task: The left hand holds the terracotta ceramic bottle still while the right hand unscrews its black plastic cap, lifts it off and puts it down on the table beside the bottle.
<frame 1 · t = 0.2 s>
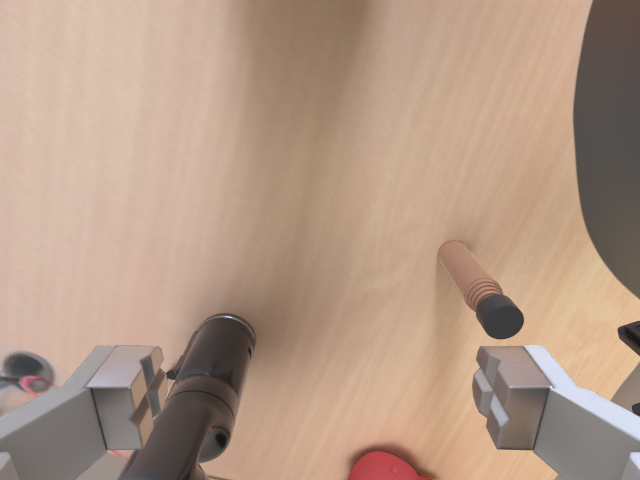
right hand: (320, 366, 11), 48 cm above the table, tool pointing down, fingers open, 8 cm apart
cap: (502, 321, 45), point 18 cm above the table, screwed on, not yet turned
bottle: (452, 254, 62), on the table
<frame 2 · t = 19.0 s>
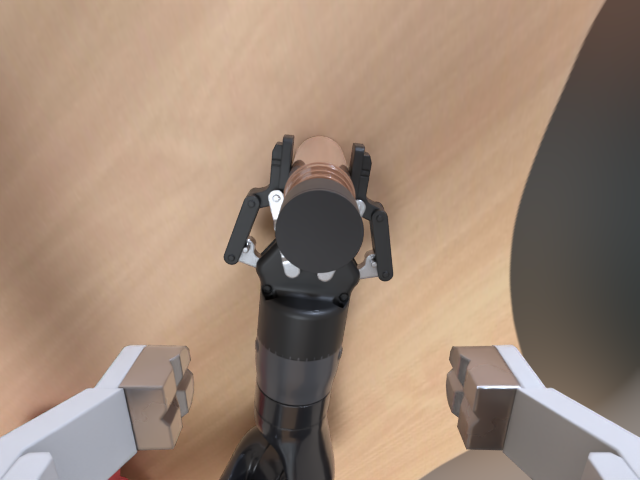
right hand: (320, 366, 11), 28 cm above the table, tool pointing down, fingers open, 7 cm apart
left hand: (324, 141, 30), fingers closed on bottle, 4 cm apart
cap: (319, 231, 20), point 18 cm above the table, screwed on, not yet turned
bottle: (319, 161, 37), on the table, touching left hand
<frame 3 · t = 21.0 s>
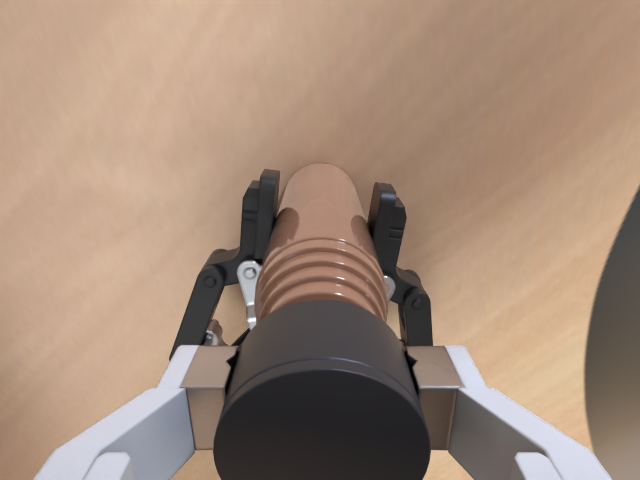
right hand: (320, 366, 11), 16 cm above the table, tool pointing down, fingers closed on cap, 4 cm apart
cap: (321, 445, 8), point 18 cm above the table, screwed on, not yet turned, touching right hand
bottle: (320, 199, 25), on the table, touching left hand
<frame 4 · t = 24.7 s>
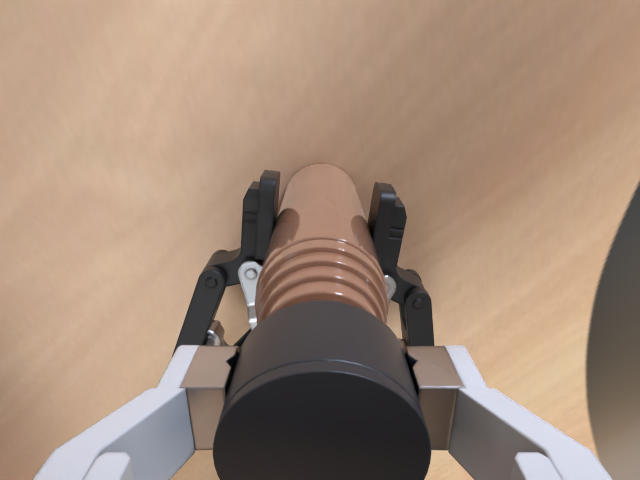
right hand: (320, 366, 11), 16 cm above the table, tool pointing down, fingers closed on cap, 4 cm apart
cap: (321, 447, 8), point 18 cm above the table, turned 91° so far, risen 0.1 cm, still on its thread, touching right hand
bottle: (321, 199, 25), on the table, touching left hand
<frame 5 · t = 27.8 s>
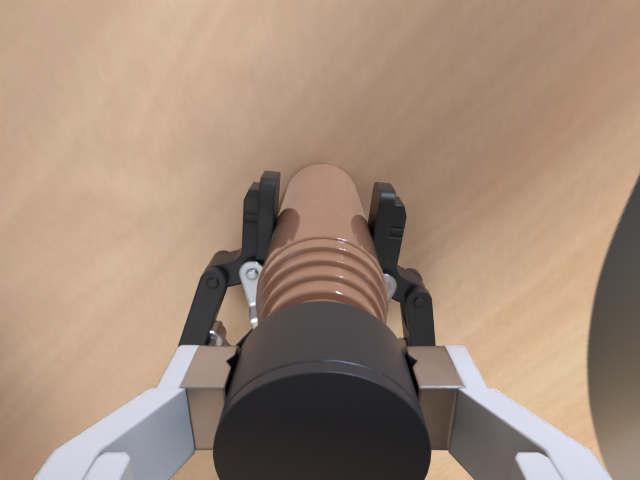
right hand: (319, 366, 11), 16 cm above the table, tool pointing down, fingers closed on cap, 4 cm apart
cap: (321, 447, 8), point 18 cm above the table, turned 181° so far, risen 0.2 cm, still on its thread, touching right hand
bottle: (321, 199, 25), on the table, touching left hand
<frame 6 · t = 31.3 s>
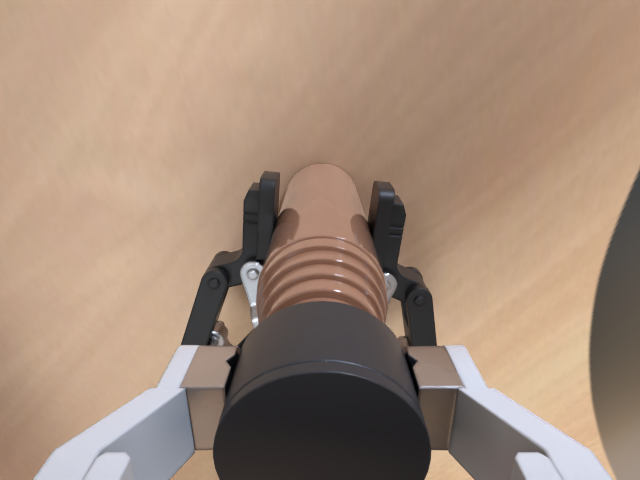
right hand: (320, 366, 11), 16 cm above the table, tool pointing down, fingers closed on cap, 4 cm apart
cap: (321, 447, 8), point 19 cm above the table, turned 271° so far, risen 0.3 cm, still on its thread, touching right hand
bottle: (321, 199, 26), on the table, touching left hand
when the right hand's fingers open (2 cm above the table, at t = 44.9 s): cap drops 2 cm, point 2 cm above the table.
when the left hand's fingers open (7 cm above the table, at t = 46.1 s): bottle stays where it is, on the table.
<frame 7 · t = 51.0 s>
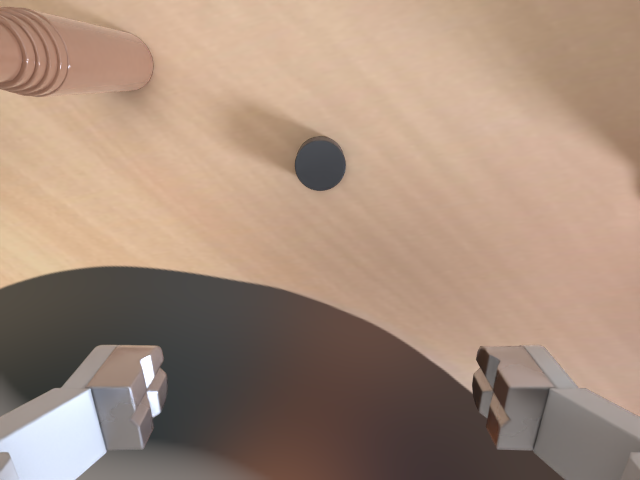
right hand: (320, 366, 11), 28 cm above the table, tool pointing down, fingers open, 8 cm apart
cap: (320, 165, 35), point 2 cm above the table, off its thread
bottle: (126, 61, 34), on the table
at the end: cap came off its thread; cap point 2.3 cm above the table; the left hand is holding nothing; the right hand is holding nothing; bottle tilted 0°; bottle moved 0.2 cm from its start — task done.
